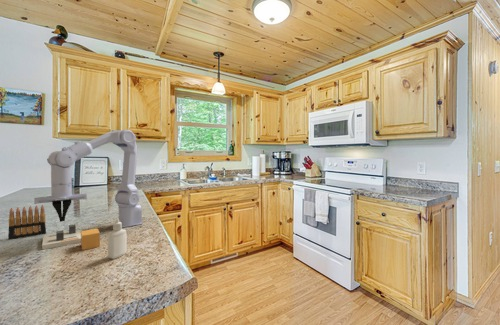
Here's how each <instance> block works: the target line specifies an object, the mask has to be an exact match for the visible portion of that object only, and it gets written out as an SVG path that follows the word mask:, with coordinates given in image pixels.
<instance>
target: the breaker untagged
mask: <svg viewBox="0 0 500 325" xmlns="http://www.w3.org/2000/svg"><path fill="white" fill-rule="evenodd" d="M76 230H77V229H76V224H69V225H68V231H69V234H72V233H76Z"/></svg>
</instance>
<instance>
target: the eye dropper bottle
mask: <svg viewBox="0 0 500 325" xmlns="http://www.w3.org/2000/svg"><path fill="white" fill-rule="evenodd" d="M127 239H128V238H127V230H126V229H125V228H123V227H122V223H121V222H119V218H116V219H115V221H114V222H113V223H112V231H111V232H110V233H109V234H108V238H107V256H108V257H107V258H108V259H113V260H115V259H117V258H120V257H123V256H124V255H125V254H126V253H127V250H128V248H127V247H128V246H127V244H128V243H127V242H128V240H127Z"/></svg>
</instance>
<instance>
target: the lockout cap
mask: <svg viewBox="0 0 500 325" xmlns="http://www.w3.org/2000/svg"><path fill="white" fill-rule="evenodd" d="M80 233H81V242H80V246H81V250H82V251H86V250H90V249H94V248H100V247H101V245H100V244H101V240H100V238H101V235H100V231H99V229H98V228H91V229H87V230H80Z"/></svg>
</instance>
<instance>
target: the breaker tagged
mask: <svg viewBox="0 0 500 325" xmlns="http://www.w3.org/2000/svg"><path fill="white" fill-rule="evenodd" d="M64 232H65V231H64V229H63V230H57V231H56V232H55V233H56V241H59V240H64Z"/></svg>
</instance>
